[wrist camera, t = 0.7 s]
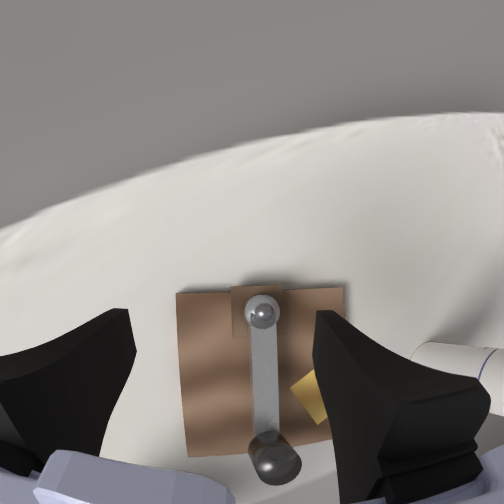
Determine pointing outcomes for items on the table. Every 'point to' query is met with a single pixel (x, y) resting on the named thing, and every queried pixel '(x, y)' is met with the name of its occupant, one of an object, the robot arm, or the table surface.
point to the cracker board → (248, 367)
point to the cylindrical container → (468, 366)
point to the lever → (267, 395)
